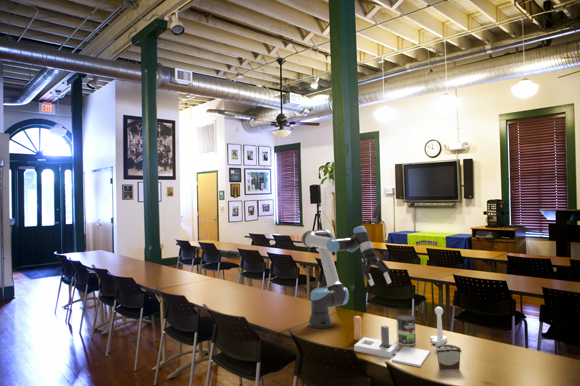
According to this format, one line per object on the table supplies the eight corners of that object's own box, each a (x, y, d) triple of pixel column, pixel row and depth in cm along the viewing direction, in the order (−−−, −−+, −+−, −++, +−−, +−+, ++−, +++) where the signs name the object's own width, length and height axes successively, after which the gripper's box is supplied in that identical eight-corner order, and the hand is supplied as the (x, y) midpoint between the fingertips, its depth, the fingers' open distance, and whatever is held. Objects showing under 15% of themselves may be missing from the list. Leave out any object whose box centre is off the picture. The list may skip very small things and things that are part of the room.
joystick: (439, 346, 213) (437, 309, 213) (426, 342, 218) (425, 307, 219) (448, 340, 220) (447, 305, 220) (436, 337, 226) (434, 303, 226)
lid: (388, 360, 196) (387, 358, 196) (399, 347, 213) (399, 345, 213) (420, 367, 187) (420, 365, 187) (430, 352, 204) (430, 350, 204)
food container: (456, 364, 190) (455, 343, 190) (462, 369, 183) (461, 348, 184) (431, 365, 189) (430, 344, 189) (436, 370, 183) (436, 349, 183)
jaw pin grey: (380, 352, 207) (379, 327, 207) (383, 349, 211) (382, 325, 211) (388, 353, 205) (387, 328, 205) (390, 350, 208) (389, 326, 209)
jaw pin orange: (353, 339, 226) (352, 317, 227) (356, 337, 230) (355, 315, 230) (360, 340, 224) (359, 318, 225) (362, 338, 228) (361, 316, 228)
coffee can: (419, 344, 216) (418, 319, 216) (403, 346, 213) (402, 321, 214) (409, 338, 226) (408, 314, 226) (393, 340, 223) (392, 316, 224)
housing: (354, 350, 210) (354, 345, 210) (364, 342, 222) (364, 337, 222) (390, 357, 199) (390, 352, 199) (398, 348, 211) (398, 343, 211)
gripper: (355, 248, 222) (368, 283, 212) (386, 246, 235) (400, 279, 225) (348, 254, 227) (360, 288, 217) (378, 252, 240) (392, 284, 230)
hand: (381, 284), depth 221 cm, fingers open, 13 cm apart
